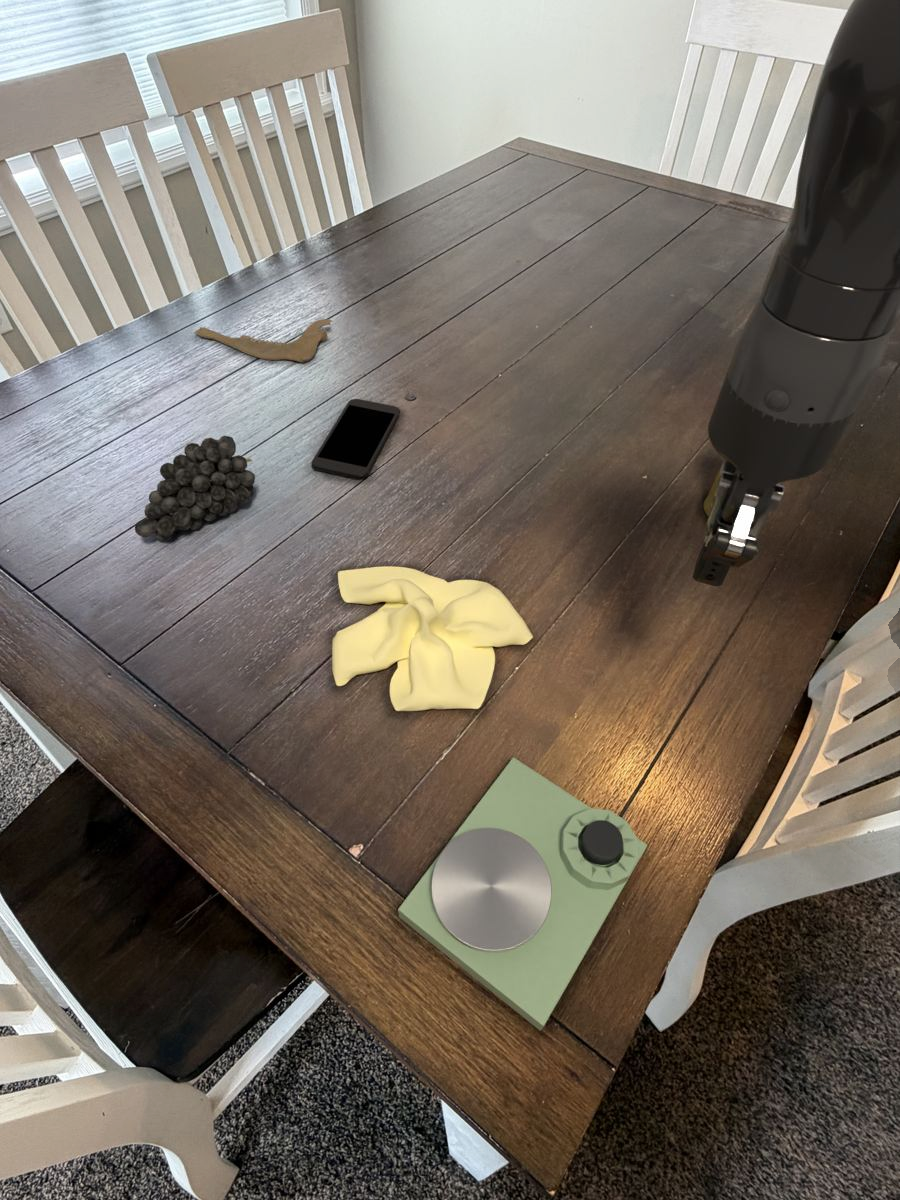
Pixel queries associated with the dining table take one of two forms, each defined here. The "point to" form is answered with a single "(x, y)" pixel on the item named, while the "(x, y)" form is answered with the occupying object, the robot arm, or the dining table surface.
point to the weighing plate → (491, 890)
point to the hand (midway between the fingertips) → (707, 576)
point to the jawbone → (275, 343)
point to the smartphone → (356, 439)
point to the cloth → (425, 636)
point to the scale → (577, 891)
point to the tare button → (601, 842)
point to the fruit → (197, 488)
